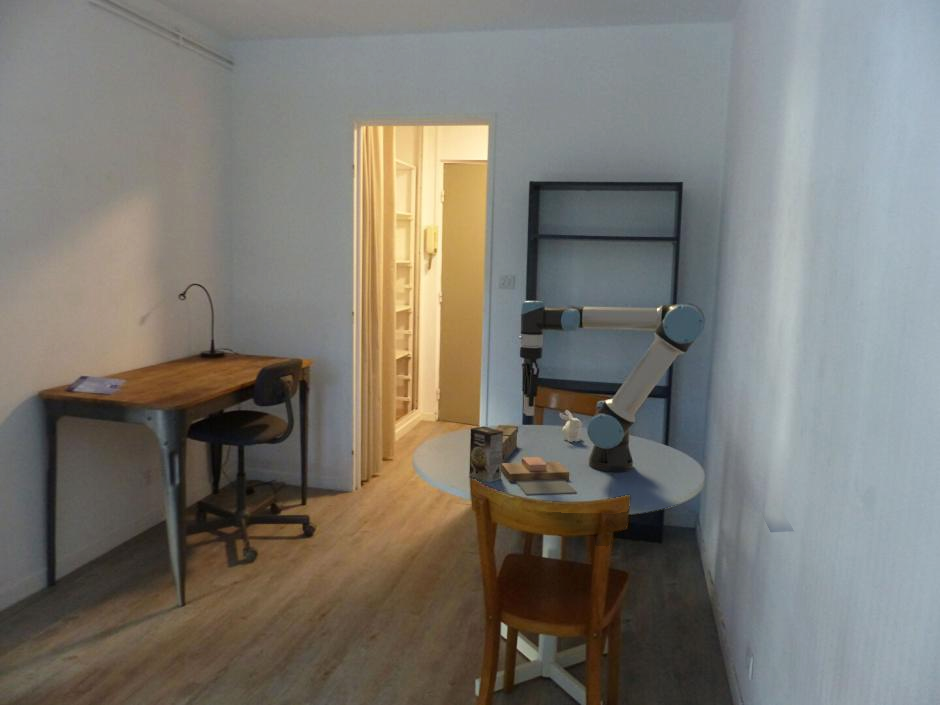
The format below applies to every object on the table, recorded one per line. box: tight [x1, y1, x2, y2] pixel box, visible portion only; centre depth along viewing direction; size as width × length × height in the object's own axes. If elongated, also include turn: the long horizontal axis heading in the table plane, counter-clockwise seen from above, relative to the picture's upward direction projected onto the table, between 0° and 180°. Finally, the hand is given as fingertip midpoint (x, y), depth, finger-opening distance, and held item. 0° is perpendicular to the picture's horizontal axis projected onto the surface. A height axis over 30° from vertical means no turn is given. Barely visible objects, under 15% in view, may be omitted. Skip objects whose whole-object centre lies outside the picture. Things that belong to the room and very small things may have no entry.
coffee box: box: [468, 425, 503, 483], centre depth 226 cm, size 9×6×16 cm
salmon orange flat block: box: [521, 456, 547, 471], centre depth 232 cm, size 9×6×2 cm, turn 10°
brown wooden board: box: [501, 461, 570, 483], centre depth 231 cm, size 20×12×3 cm, turn 100°
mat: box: [515, 479, 578, 496], centre depth 219 cm, size 16×13×1 cm
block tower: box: [495, 424, 519, 463], centre depth 257 cm, size 8×8×29 cm
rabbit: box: [559, 409, 583, 443], centre depth 281 cm, size 12×9×12 cm
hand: (528, 414), depth 239 cm, fingers open, 3 cm apart
